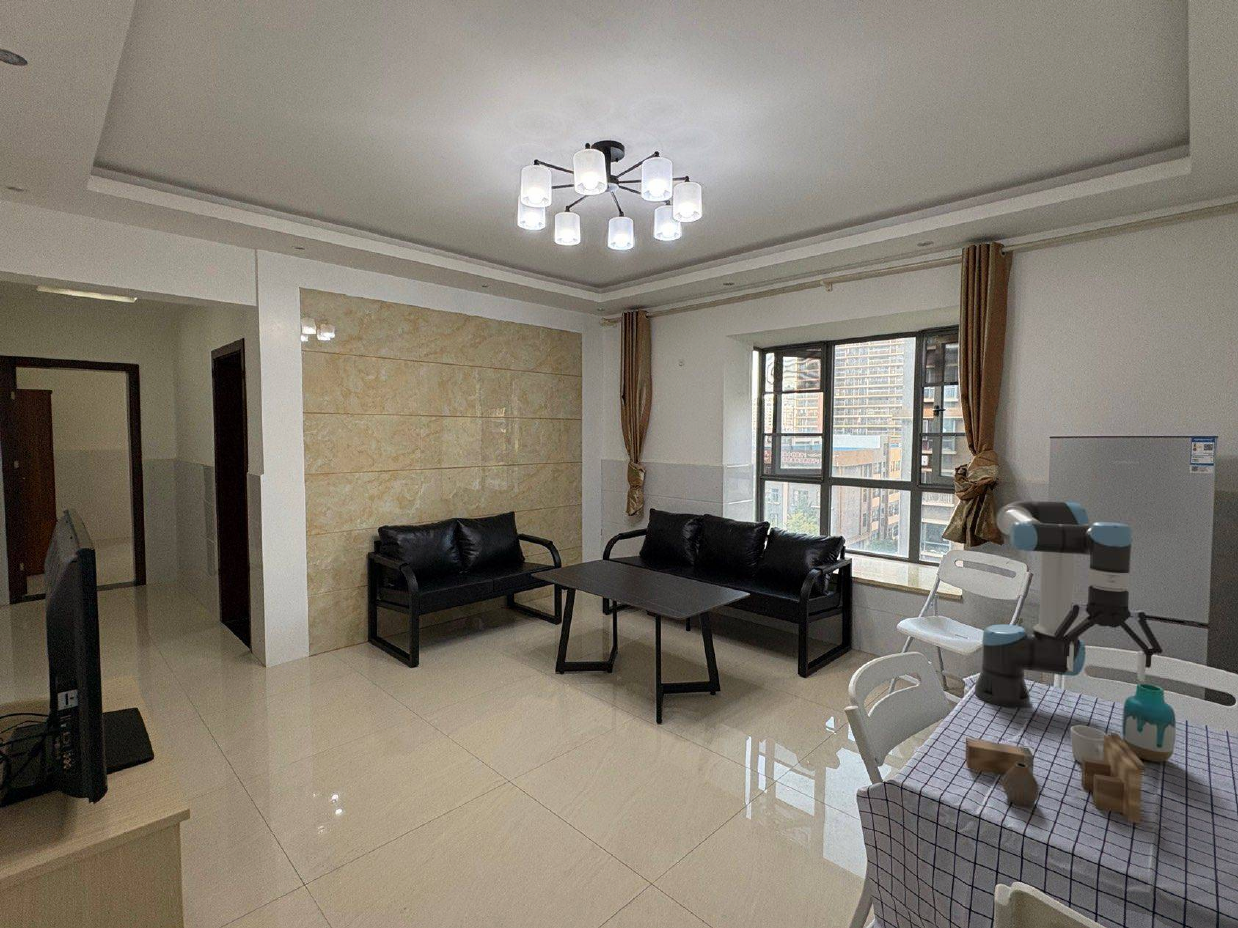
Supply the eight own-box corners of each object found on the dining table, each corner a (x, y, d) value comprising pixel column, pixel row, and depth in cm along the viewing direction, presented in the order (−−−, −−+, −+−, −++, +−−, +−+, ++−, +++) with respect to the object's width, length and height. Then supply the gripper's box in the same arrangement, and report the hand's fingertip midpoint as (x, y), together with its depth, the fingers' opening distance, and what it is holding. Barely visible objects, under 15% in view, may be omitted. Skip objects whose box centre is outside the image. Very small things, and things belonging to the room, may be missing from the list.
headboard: (1077, 778, 150) (1079, 727, 149) (1114, 785, 147) (1117, 733, 147) (1100, 815, 135) (1103, 759, 135) (1143, 824, 132) (1145, 766, 132)
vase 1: (1011, 808, 138) (1012, 771, 137) (996, 791, 144) (998, 755, 144) (1044, 811, 137) (1045, 774, 136) (1028, 793, 143) (1029, 757, 143)
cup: (1121, 778, 150) (1123, 746, 150) (1085, 774, 152) (1086, 743, 151) (1096, 755, 161) (1098, 726, 160) (1063, 752, 162) (1064, 723, 162)
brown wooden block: (968, 768, 154) (968, 745, 154) (965, 759, 159) (966, 737, 158) (1032, 780, 149) (1033, 756, 149) (1028, 770, 153) (1028, 747, 153)
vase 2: (1169, 754, 161) (1172, 684, 161) (1178, 773, 153) (1181, 699, 152) (1118, 743, 167) (1121, 675, 166) (1123, 760, 158) (1127, 689, 158)
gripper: (1047, 584, 147) (1044, 670, 148) (1182, 597, 135) (1178, 690, 136) (1042, 578, 153) (1039, 660, 154) (1171, 590, 142) (1166, 678, 143)
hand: (1104, 674), depth 145 cm, fingers open, 13 cm apart
